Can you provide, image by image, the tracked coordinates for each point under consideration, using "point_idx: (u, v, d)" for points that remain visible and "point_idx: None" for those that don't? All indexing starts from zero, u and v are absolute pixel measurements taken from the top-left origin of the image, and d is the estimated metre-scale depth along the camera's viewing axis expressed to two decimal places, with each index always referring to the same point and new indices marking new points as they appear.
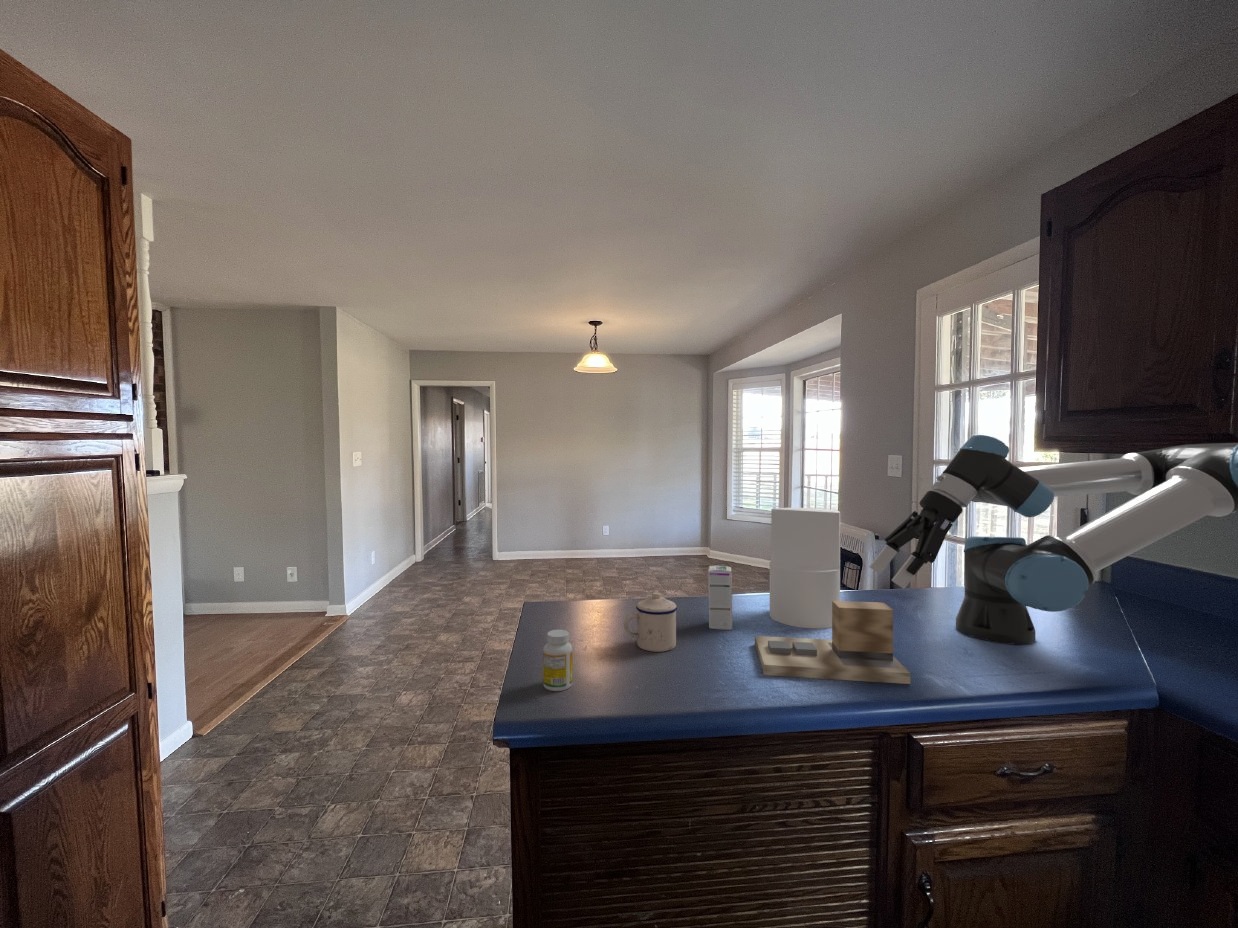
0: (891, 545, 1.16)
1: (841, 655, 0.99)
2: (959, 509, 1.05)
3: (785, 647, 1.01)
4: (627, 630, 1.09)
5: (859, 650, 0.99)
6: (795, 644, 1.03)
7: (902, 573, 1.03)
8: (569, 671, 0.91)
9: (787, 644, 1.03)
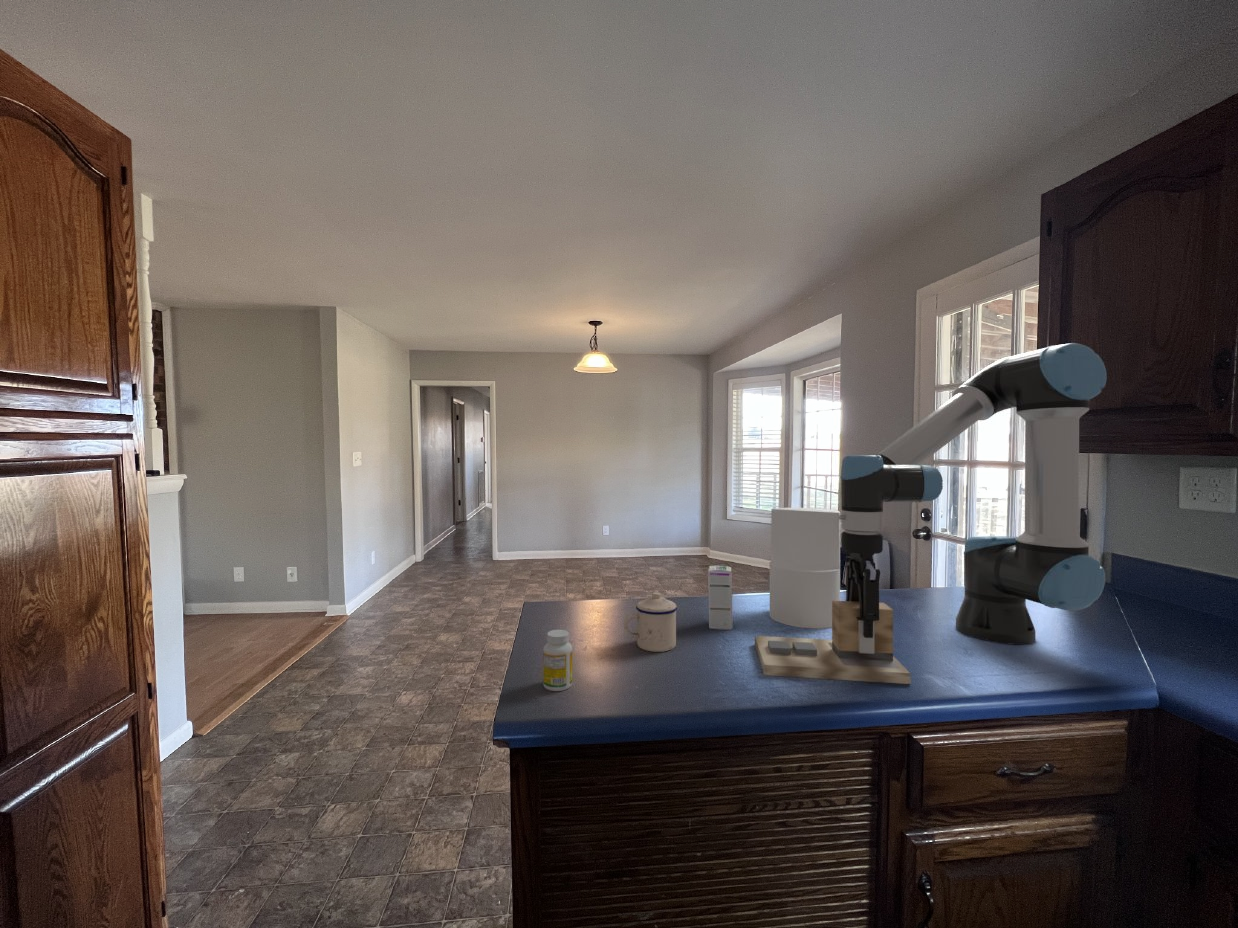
0: None
1: (841, 655, 0.99)
2: (877, 539, 0.97)
3: (785, 647, 1.01)
4: (627, 630, 1.09)
5: None
6: (795, 644, 1.03)
7: (862, 640, 0.98)
8: (569, 671, 0.91)
9: (787, 644, 1.03)
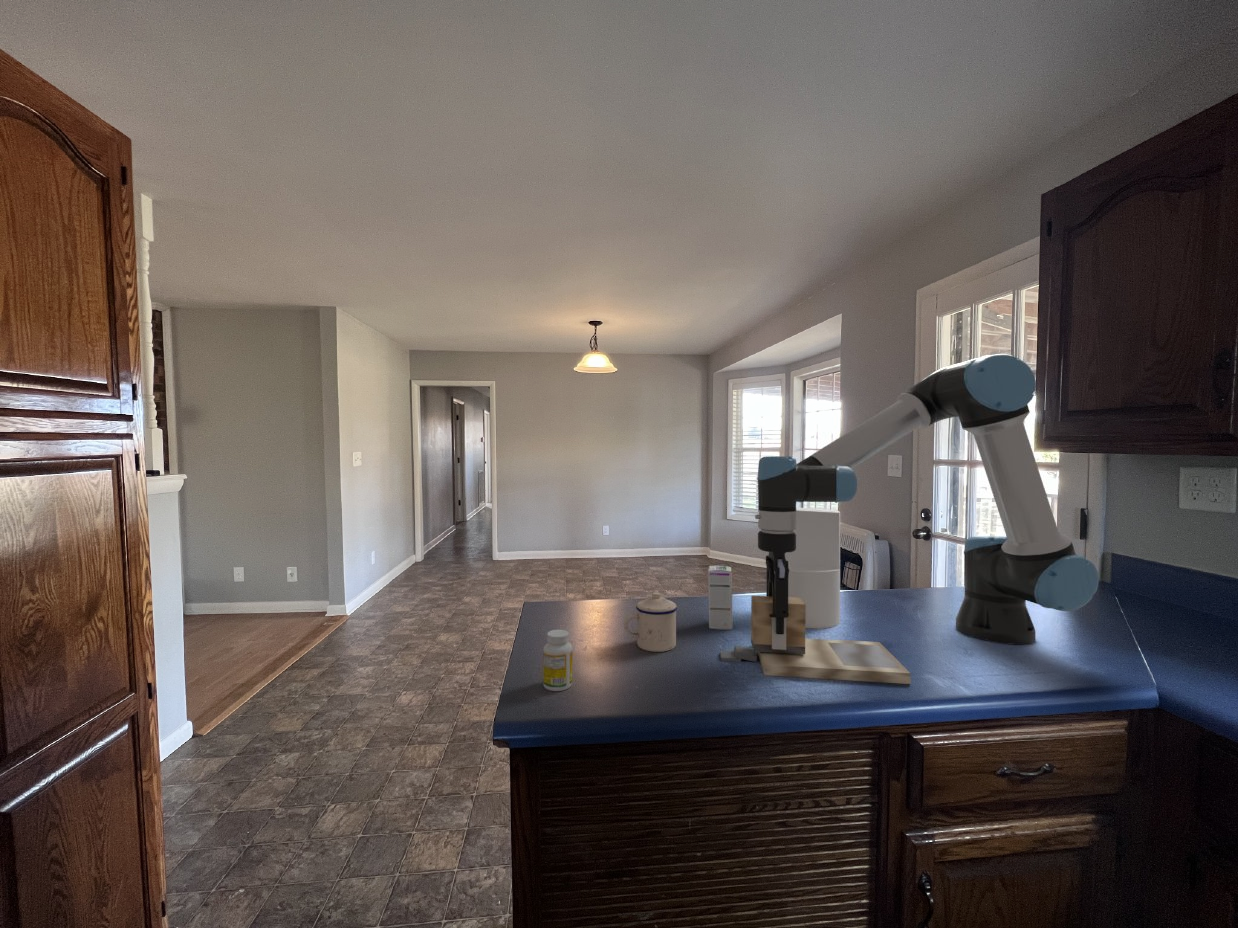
0: None
1: (756, 648, 1.02)
2: (789, 538, 1.00)
3: None
4: (627, 630, 1.09)
5: None
6: (737, 647, 1.05)
7: (775, 637, 1.00)
8: (569, 671, 0.91)
9: None
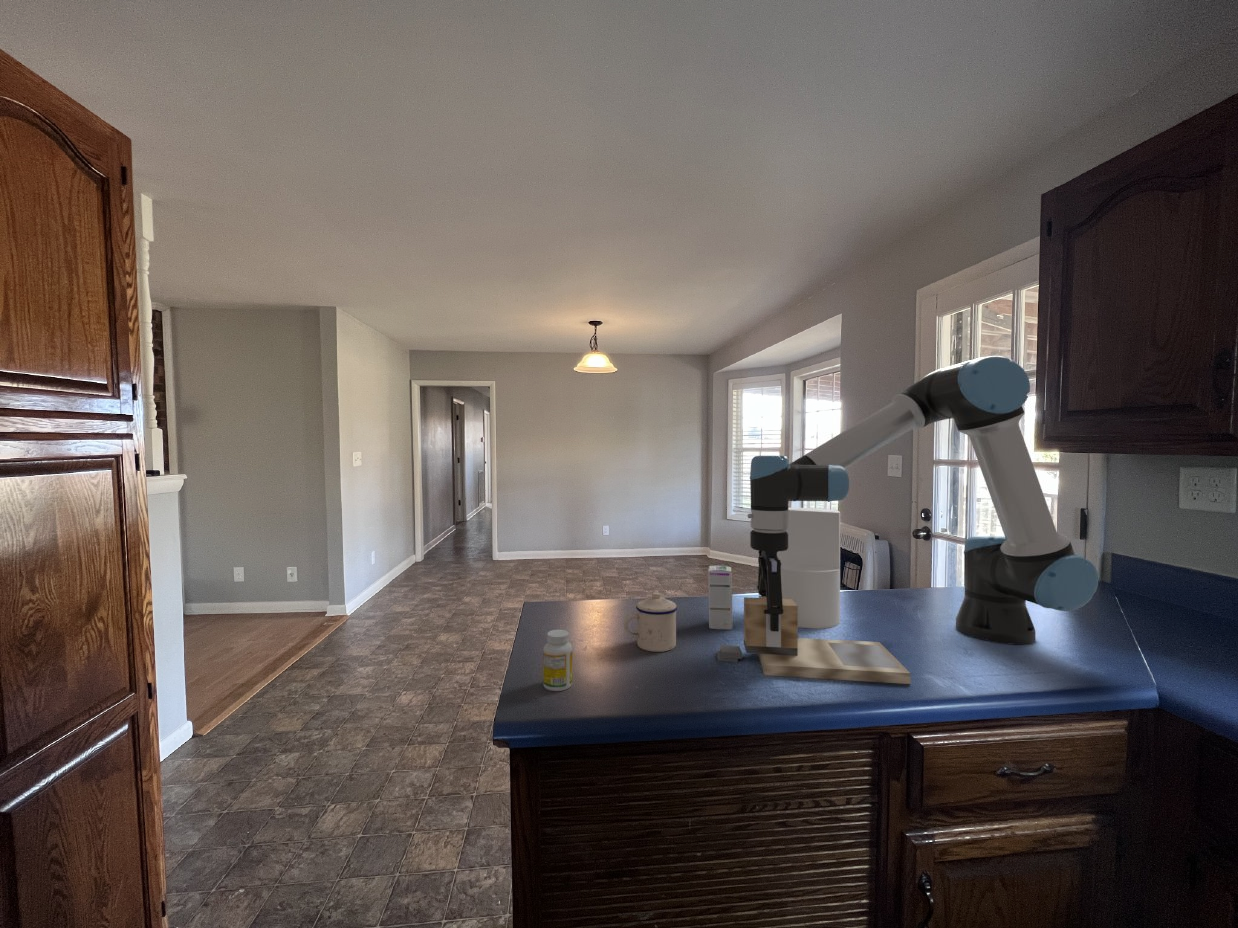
0: (763, 593, 1.10)
1: (748, 650, 1.02)
2: (781, 537, 1.00)
3: None
4: (627, 630, 1.09)
5: (765, 645, 1.01)
6: (722, 647, 1.05)
7: (769, 634, 0.97)
8: (569, 671, 0.91)
9: None
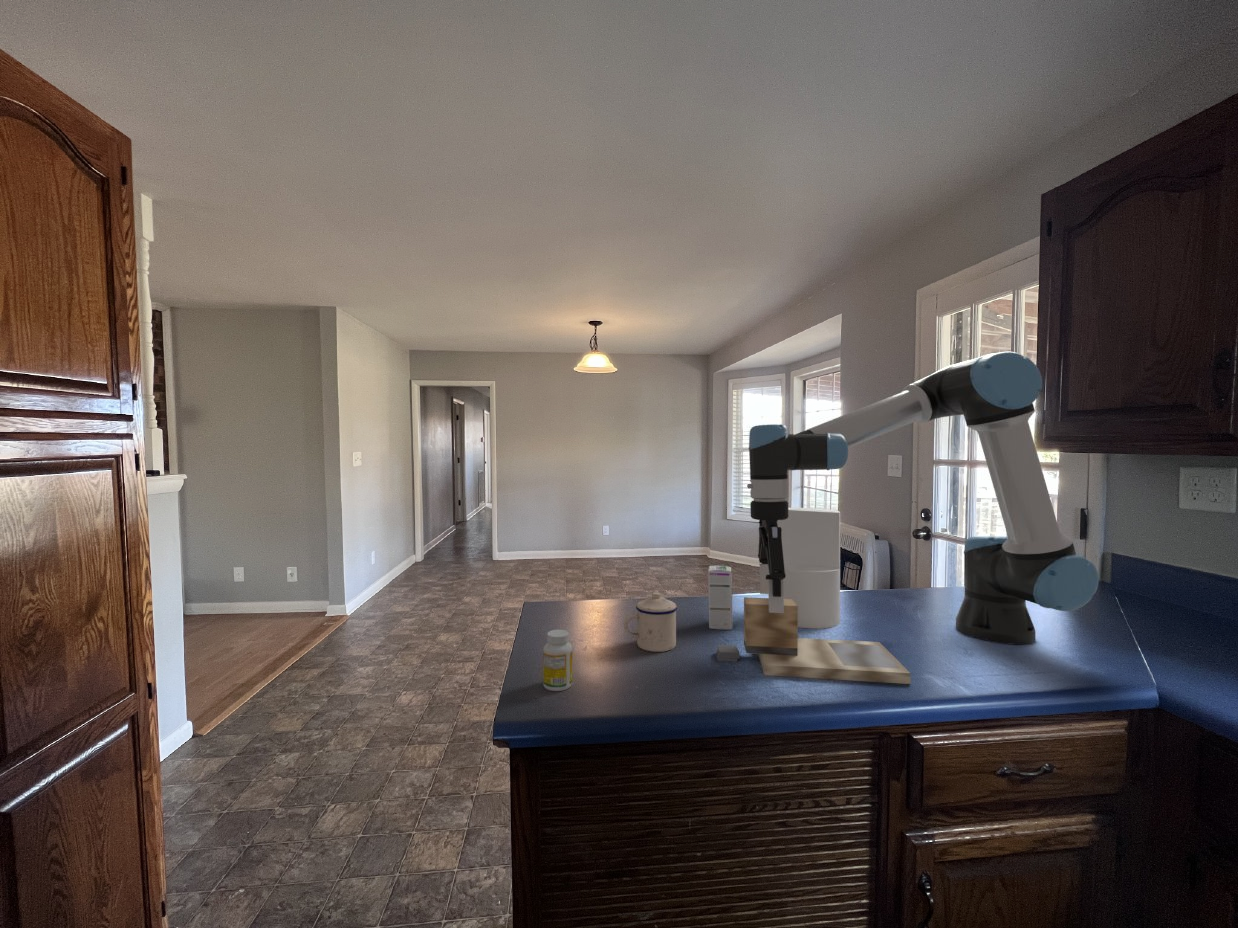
0: (764, 561, 1.11)
1: (748, 650, 1.02)
2: (781, 505, 1.00)
3: None
4: (627, 630, 1.09)
5: (765, 645, 1.01)
6: (719, 647, 1.06)
7: (772, 600, 0.97)
8: (569, 671, 0.91)
9: None
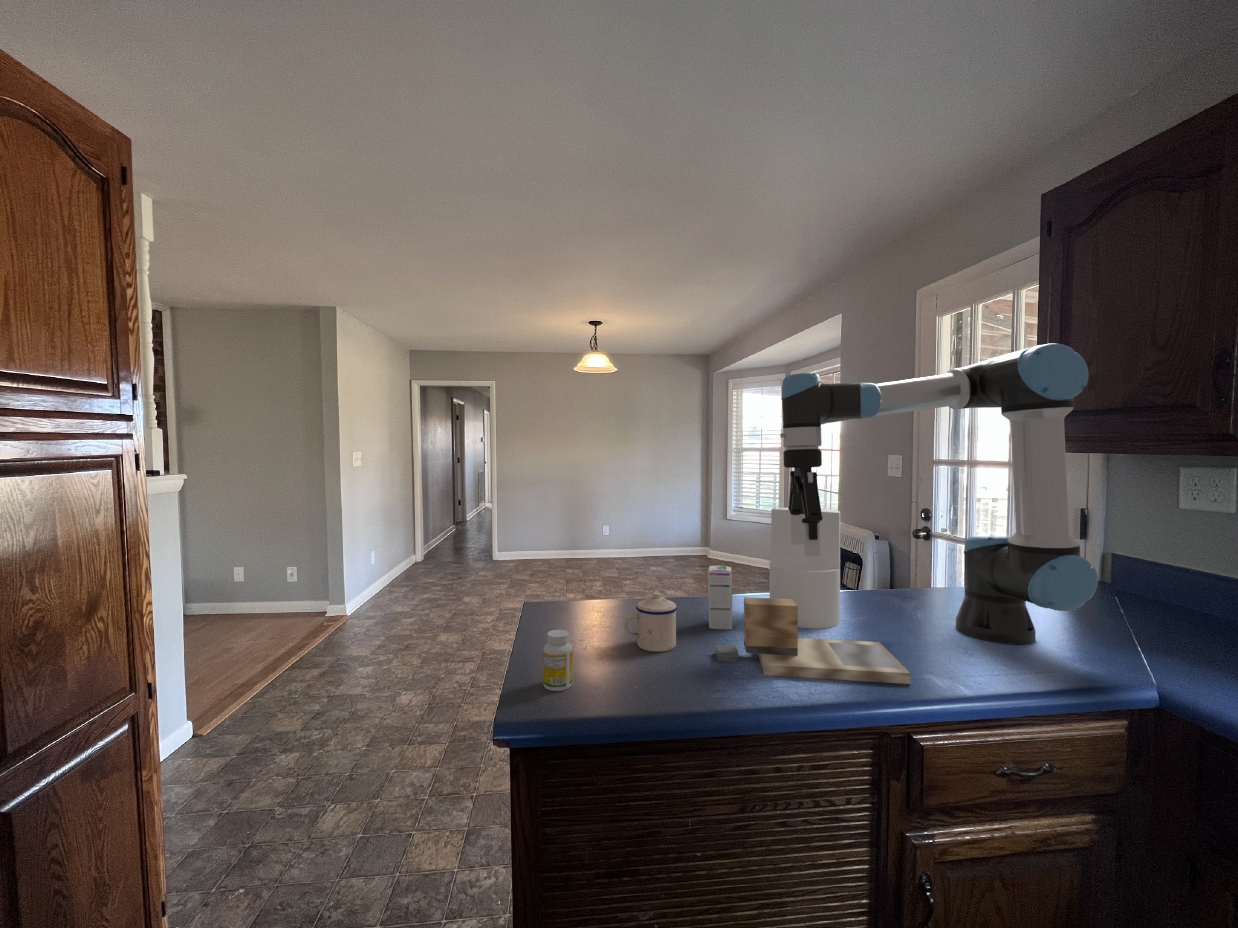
0: (795, 512, 1.12)
1: (748, 650, 1.02)
2: (815, 452, 1.02)
3: None
4: (627, 630, 1.09)
5: (765, 645, 1.01)
6: (718, 647, 1.05)
7: (808, 543, 0.98)
8: (569, 671, 0.91)
9: None
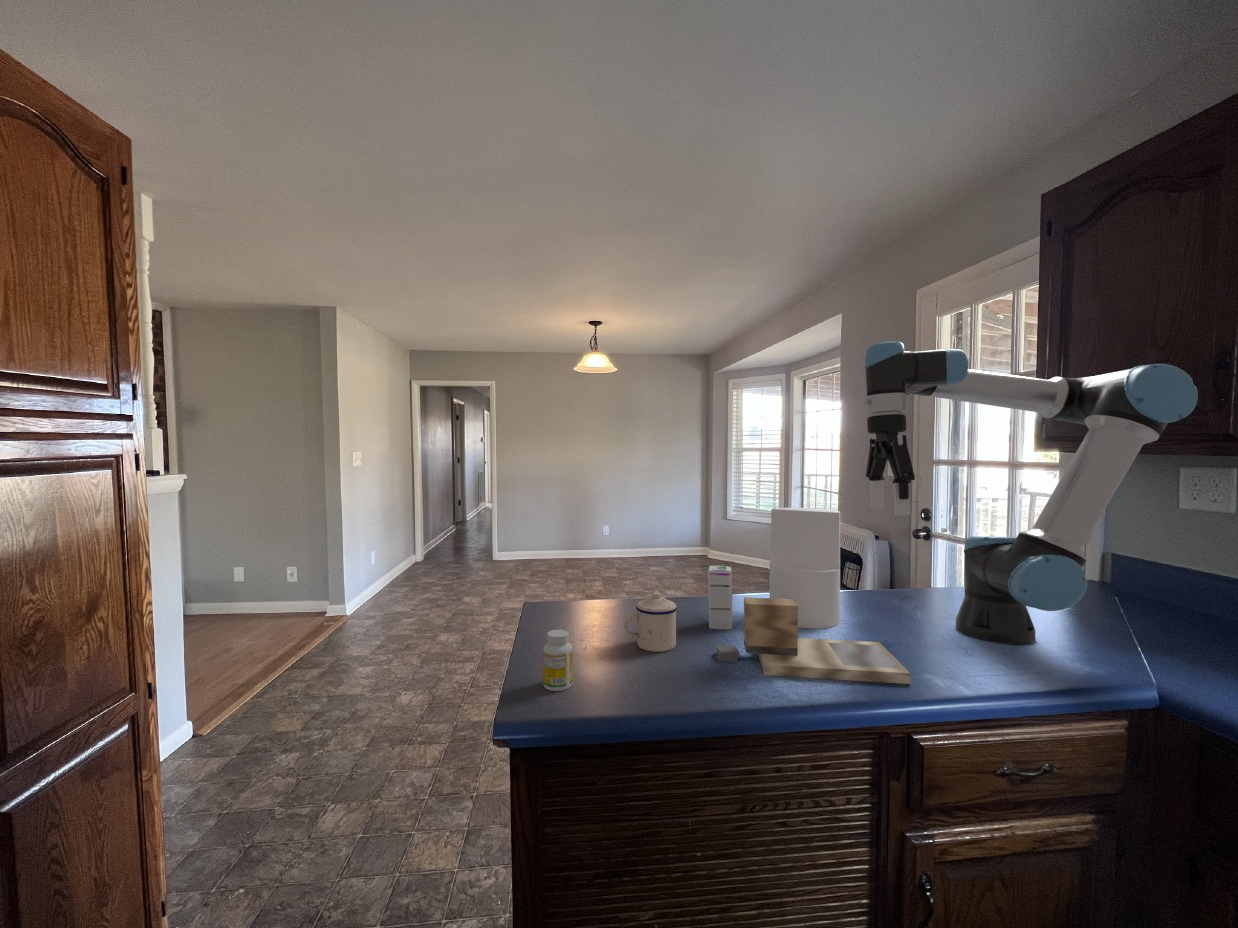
0: (874, 478, 1.17)
1: (748, 650, 1.02)
2: (902, 417, 1.06)
3: None
4: (627, 630, 1.09)
5: (765, 645, 1.01)
6: (719, 647, 1.05)
7: (898, 503, 1.03)
8: (569, 671, 0.91)
9: None
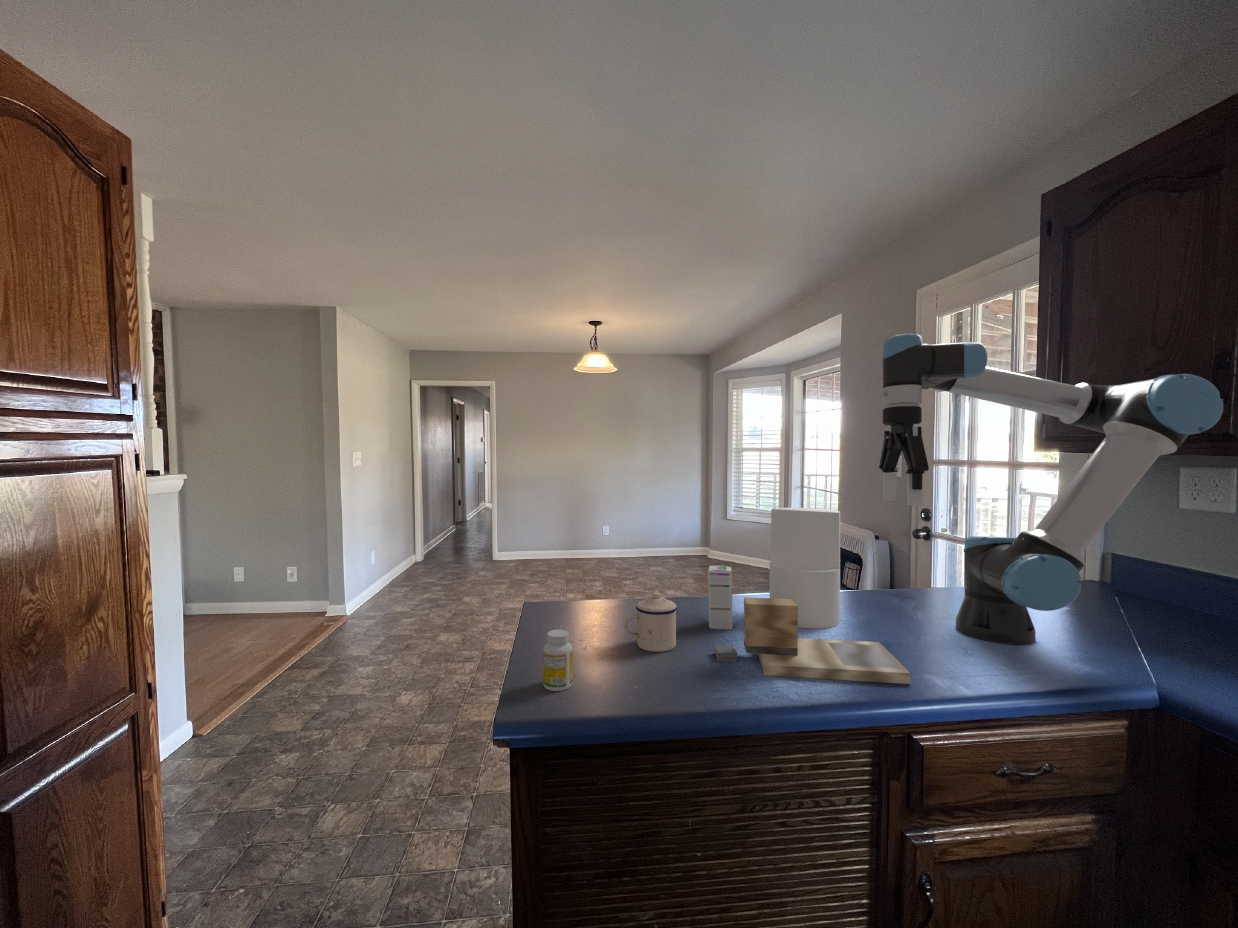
0: (887, 470, 1.18)
1: (748, 650, 1.02)
2: (917, 409, 1.07)
3: None
4: (627, 630, 1.09)
5: (765, 645, 1.01)
6: (716, 648, 1.06)
7: (911, 493, 1.04)
8: (569, 671, 0.91)
9: None
